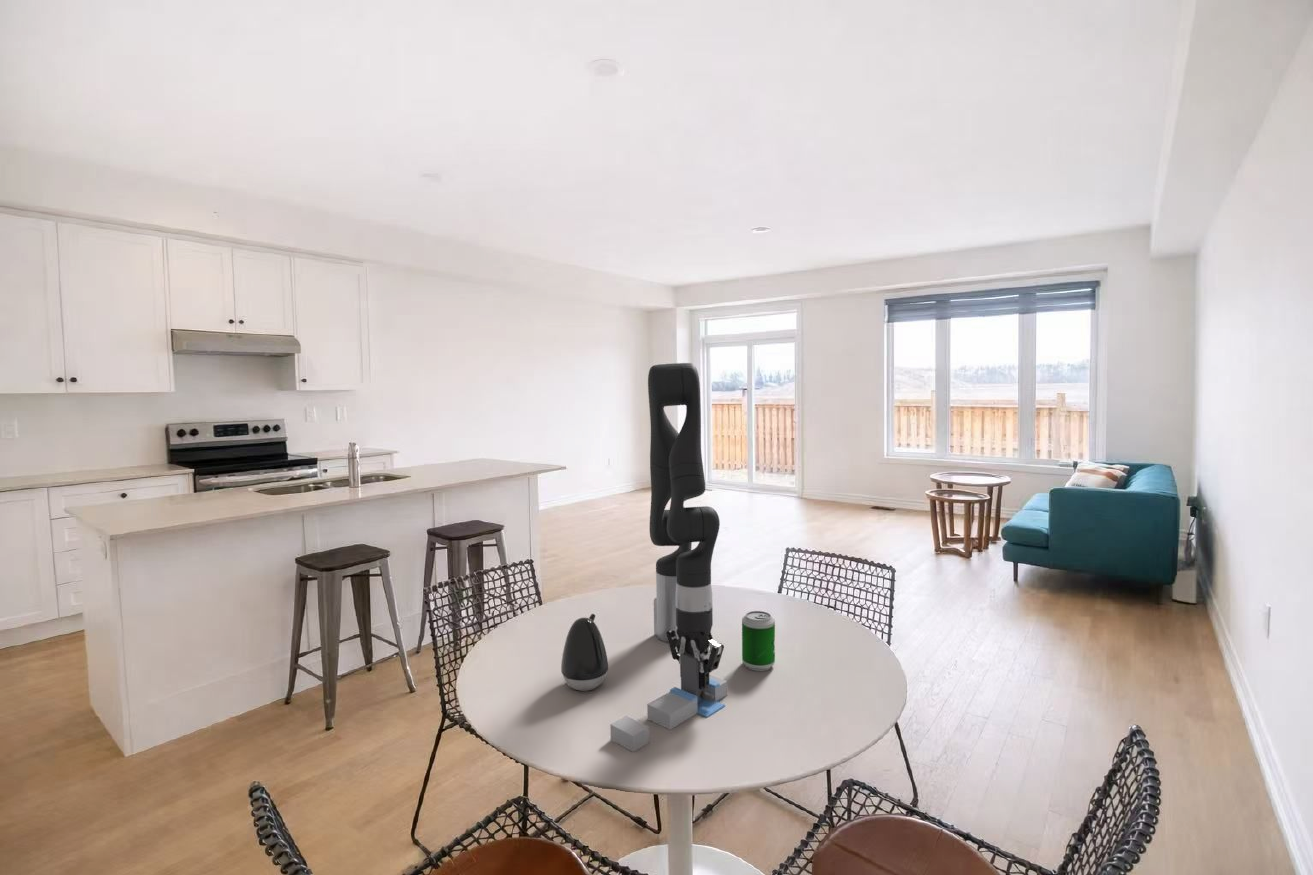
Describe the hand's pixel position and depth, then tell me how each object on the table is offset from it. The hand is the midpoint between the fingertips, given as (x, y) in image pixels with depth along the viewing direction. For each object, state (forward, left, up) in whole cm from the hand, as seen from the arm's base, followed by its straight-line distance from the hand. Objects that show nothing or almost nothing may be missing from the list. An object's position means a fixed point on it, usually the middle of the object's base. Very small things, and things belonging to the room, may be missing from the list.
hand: (694, 684), depth 134 cm
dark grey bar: (+1, 0, -3) cm, 3 cm away
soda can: (0, +23, -4) cm, 23 cm away
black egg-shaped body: (-23, -10, -4) cm, 25 cm away
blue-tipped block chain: (0, -7, -4) cm, 8 cm away
